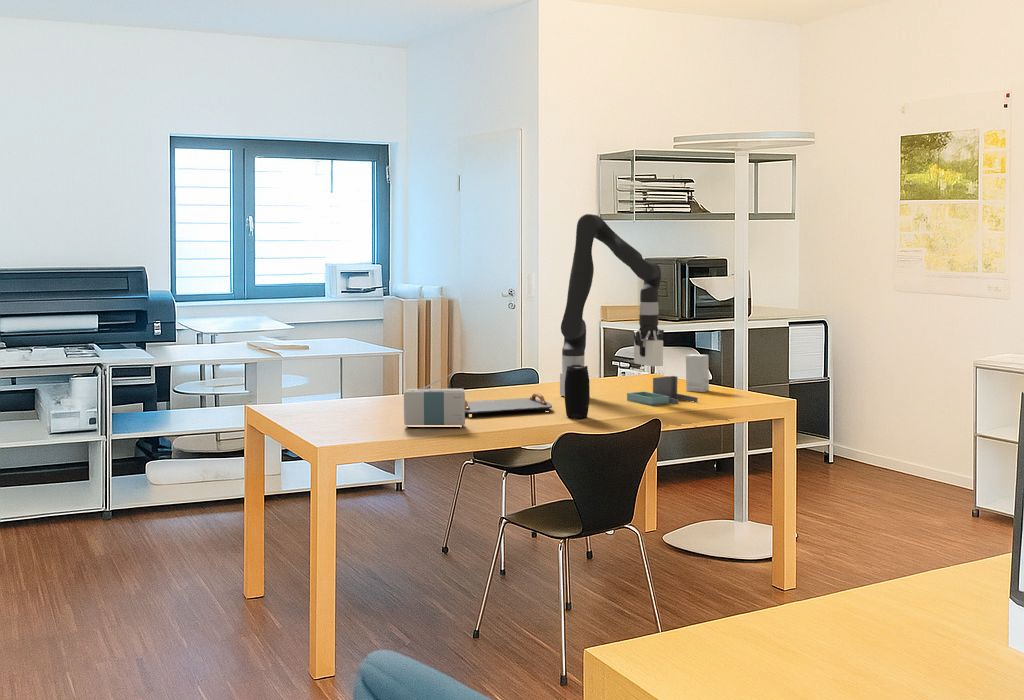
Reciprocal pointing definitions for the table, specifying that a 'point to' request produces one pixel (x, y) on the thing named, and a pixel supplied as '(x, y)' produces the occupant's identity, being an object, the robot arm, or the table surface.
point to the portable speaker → (577, 391)
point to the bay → (670, 389)
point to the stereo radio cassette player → (434, 406)
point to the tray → (648, 398)
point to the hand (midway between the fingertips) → (648, 355)
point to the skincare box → (697, 373)
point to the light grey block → (650, 353)
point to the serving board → (507, 405)
